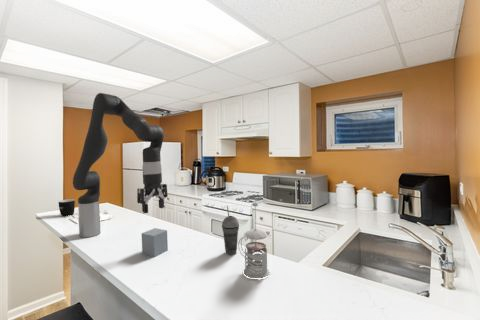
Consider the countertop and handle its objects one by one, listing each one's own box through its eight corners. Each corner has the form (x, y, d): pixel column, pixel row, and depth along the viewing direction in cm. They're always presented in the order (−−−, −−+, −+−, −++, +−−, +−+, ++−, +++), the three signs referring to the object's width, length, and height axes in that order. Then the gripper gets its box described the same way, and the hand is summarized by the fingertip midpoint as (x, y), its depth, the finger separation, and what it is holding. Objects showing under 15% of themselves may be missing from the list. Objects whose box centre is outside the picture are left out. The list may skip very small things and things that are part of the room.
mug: (57, 215, 164) (56, 201, 164) (72, 212, 172) (71, 198, 171) (64, 218, 157) (63, 203, 157) (79, 215, 165) (78, 200, 164)
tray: (80, 226, 141) (80, 220, 141) (66, 220, 160) (66, 214, 159) (116, 218, 157) (116, 213, 157) (99, 213, 175) (99, 208, 175)
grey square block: (142, 253, 102) (141, 233, 101) (155, 247, 108) (154, 228, 108) (154, 257, 98) (154, 236, 98) (167, 250, 105) (167, 230, 104)
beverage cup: (237, 257, 97) (236, 208, 96) (220, 256, 98) (219, 207, 97) (241, 249, 104) (240, 204, 103) (224, 248, 105) (223, 203, 104)
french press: (262, 283, 78) (261, 207, 77) (232, 274, 84) (231, 203, 83) (274, 270, 86) (273, 201, 85) (246, 262, 92) (245, 197, 91)
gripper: (158, 170, 110) (159, 205, 110) (131, 173, 97) (133, 213, 98) (171, 171, 106) (172, 207, 107) (144, 174, 94) (146, 215, 94)
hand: (153, 210), depth 102 cm, fingers open, 8 cm apart
